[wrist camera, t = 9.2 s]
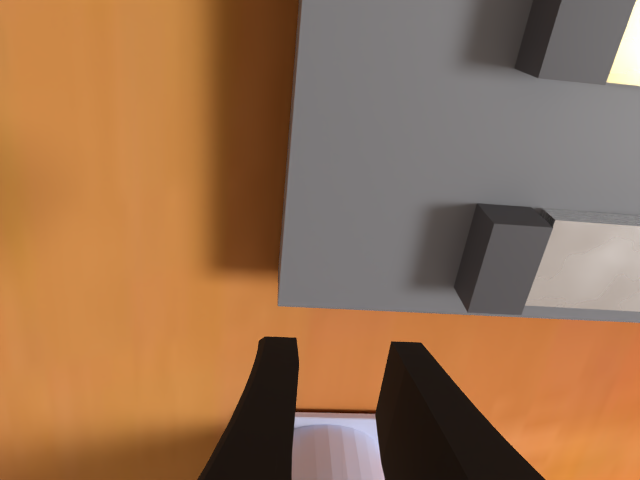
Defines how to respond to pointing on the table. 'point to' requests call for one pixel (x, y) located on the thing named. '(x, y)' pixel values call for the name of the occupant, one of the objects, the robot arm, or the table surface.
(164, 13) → the table surface
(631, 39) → the bar
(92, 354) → the table surface
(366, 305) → the mounting plate
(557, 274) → the bar
